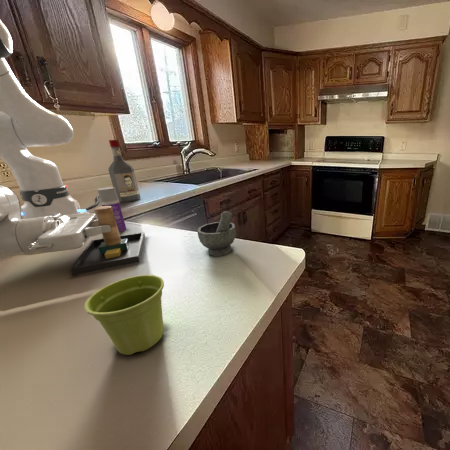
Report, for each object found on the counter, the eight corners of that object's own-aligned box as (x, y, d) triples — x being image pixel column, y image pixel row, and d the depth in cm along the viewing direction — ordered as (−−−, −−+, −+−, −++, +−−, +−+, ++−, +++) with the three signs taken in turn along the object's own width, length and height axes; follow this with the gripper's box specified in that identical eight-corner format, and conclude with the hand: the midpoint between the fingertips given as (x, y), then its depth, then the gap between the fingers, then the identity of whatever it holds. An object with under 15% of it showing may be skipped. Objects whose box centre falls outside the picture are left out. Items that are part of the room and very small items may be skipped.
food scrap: (108, 254, 66) (106, 250, 65) (121, 251, 67) (120, 247, 66) (105, 258, 63) (104, 254, 63) (119, 256, 64) (118, 252, 64)
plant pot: (88, 354, 35) (67, 304, 32) (147, 313, 44) (135, 270, 41) (133, 374, 32) (115, 321, 29) (187, 325, 40) (177, 280, 37)
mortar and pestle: (194, 253, 66) (186, 210, 62) (222, 241, 74) (217, 202, 70) (220, 263, 60) (213, 217, 56) (248, 250, 67) (244, 208, 63)
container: (118, 234, 81) (105, 190, 76) (106, 234, 82) (93, 189, 77) (130, 229, 85) (118, 187, 80) (119, 229, 86) (106, 186, 81)
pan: (93, 246, 72) (91, 240, 71) (145, 238, 78) (144, 231, 77) (72, 277, 56) (69, 269, 55) (140, 263, 61) (138, 255, 61)
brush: (103, 248, 68) (90, 207, 64) (129, 244, 71) (118, 204, 67) (100, 254, 65) (86, 211, 61) (127, 249, 67) (115, 207, 63)
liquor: (115, 200, 128) (98, 140, 118) (134, 197, 135) (119, 140, 125) (123, 202, 123) (106, 140, 113) (142, 199, 130) (128, 139, 120)
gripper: (17, 236, 50) (100, 224, 56) (54, 212, 67) (115, 205, 73) (29, 264, 52) (108, 249, 58) (62, 233, 69) (121, 225, 75)
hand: (112, 224), depth 66 cm, fingers closed on brush, 3 cm apart
